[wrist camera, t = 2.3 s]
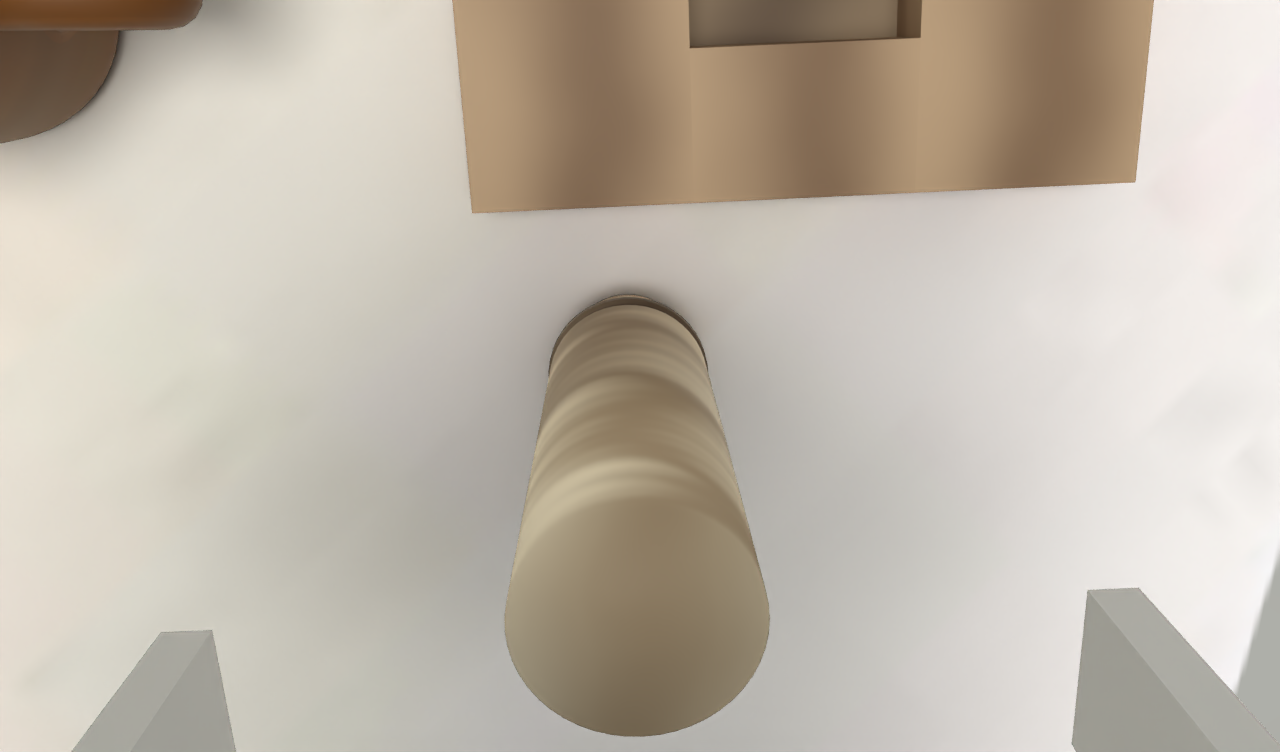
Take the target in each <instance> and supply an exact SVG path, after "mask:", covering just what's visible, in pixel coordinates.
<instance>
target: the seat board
mask: <svg viewBox="0 0 1280 752" xmlns="http://www.w3.org/2000/svg"><path fill="white" fill-rule="evenodd" d="M452 1H453V11H454V22H455V33H456V44H457V55H458V65H459V76H460V87H461V98H462V109H463V119H464V130H465V141H466V152H467V163H468V173H469V184H470V195H471V206H472V213H490V212H511V211H532V210H554V209H575V208H597V207H618V206H639V205H661V204H682V203H703V202H725V201H746V200H768V199H789V198H810V197H832V196H853V195H875V194H896V193H917V192H939V191H960V190H981V189H1003V188H1024V187H1046V186H1067V185H1088V184H1110V183H1131V182H1135V180H1136V171H1137V161H1138V151H1139V141H1140V131H1141V121H1142V111H1143V102H1144V92H1145V82H1146V72H1147V62H1148V52H1149V42H1150V33H1151V23H1152V13H1153V3H1154V0H452Z"/></svg>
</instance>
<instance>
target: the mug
mask: <svg viewBox="0 0 1280 752" xmlns="http://www.w3.org/2000/svg"><path fill="white" fill-rule="evenodd" d="M202 1H203V0H0V143H5V142H9V141H14V140H18V139H23V138H27V137H31V136H34V135H37V134H39V133H42V132H44V131H47V130H50V129H52V128H54V127H56V126H58V125H59V124H61V123H63V122H65V121H67V120H68V119H69V118H71V117H72V116H73V115H74V114H76V113H77V112H78V111H79V110H81V109H82V108H83V107H84V106H85V105H86V104H87V103H88V102H89V101H90V100H91V99H92V98H93V97H94V95H95V94H96V92H97V91H98V90H99V88H100V87H101V85H102V84H103V82H104V80H105V78H106V76H107V74H108V72H109V70H110V68H111V65H112V62H113V58H114V55H115V52H116V47H117V41H118V35H119V30H170V29H174V28H179V27H183V26H185V25H186V24H188V23H189V22H191V21H192V20H193V19H195V18H196V16H197V14H198V12H199V10H200V8H201V6H202Z"/></svg>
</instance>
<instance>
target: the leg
mask: <svg viewBox="0 0 1280 752" xmlns="http://www.w3.org/2000/svg"><path fill="white" fill-rule="evenodd" d="M769 621H770V615H769V603H768V599H767V594H766V590H765V586H764V582H763V579H762V575H761V571H760V567H759V563H758V560H757V556H756V552H755V548H754V545H753V541H752V537H751V533H750V529H749V526H748V522H747V518H746V514H745V511H744V507H743V503H742V499H741V495H740V492H739V488H738V484H737V480H736V477H735V473H734V469H733V465H732V461H731V458H730V454H729V450H728V446H727V443H726V439H725V435H724V431H723V427H722V424H721V420H720V416H719V412H718V409H717V405H716V401H715V397H714V393H713V390H712V386H711V382H710V378H709V375H708V366H707V361H706V357H705V353H704V349H703V347H702V344H701V342H700V340H699V338H698V336H697V334H696V333H695V331H694V330H693V329H692V327H691V326H690V325H689V324H688V322H687V321H686V320H685V319H684V318H683V317H681V316H680V315H679V314H678V313H676V312H675V311H674V310H672V309H670V308H668V307H667V306H665V305H663V304H660V303H658V302H655V301H653V300H651V299H649V298H646V297H642V296H637V295H618V296H613V297H609V298H607V299H604V300H602V301H600V302H598V303H596V304H594V305H592V306H590V307H588V308H587V309H585V310H583V311H582V312H581V313H579V314H578V315H576V316H575V317H574V318H573V319H572V320H571V321H570V322H569V323H568V324H567V326H566V327H565V328H564V329H563V331H562V332H561V334H560V336H559V337H558V339H557V341H556V343H555V346H554V348H553V352H552V355H551V359H550V365H549V379H548V384H547V390H546V395H545V400H544V405H543V411H542V416H541V421H540V427H539V432H538V437H537V442H536V448H535V453H534V458H533V464H532V469H531V474H530V479H529V485H528V490H527V495H526V501H525V506H524V511H523V516H522V522H521V527H520V532H519V538H518V543H517V548H516V553H515V559H514V564H513V569H512V575H511V580H510V585H509V590H508V596H507V601H506V609H505V635H506V641H507V647H508V650H509V653H510V656H511V659H512V662H513V664H514V666H515V668H516V670H517V672H518V674H519V675H520V677H521V678H522V680H523V681H524V683H525V684H526V686H527V687H528V688H529V689H530V690H531V692H532V693H533V694H534V695H535V696H536V697H537V698H538V699H539V700H540V701H541V702H542V703H544V704H545V705H546V706H547V707H548V708H549V709H551V710H552V711H554V712H555V713H557V714H558V715H560V716H561V717H563V718H565V719H567V720H569V721H571V722H573V723H575V724H577V725H579V726H582V727H585V728H587V729H590V730H593V731H597V732H601V733H606V734H610V735H619V736H652V735H661V734H665V733H670V732H674V731H678V730H681V729H684V728H687V727H690V726H692V725H694V724H696V723H699V722H701V721H703V720H705V719H707V718H708V717H710V716H712V715H713V714H715V713H716V712H718V711H720V710H721V709H722V708H723V707H725V706H726V705H727V704H728V703H730V702H731V701H732V700H733V699H734V698H735V697H736V696H737V695H738V694H739V693H740V692H741V691H742V690H743V689H744V687H745V686H746V684H747V683H748V682H749V680H750V679H751V678H752V676H753V675H754V673H755V671H756V669H757V667H758V665H759V664H760V661H761V659H762V656H763V653H764V651H765V648H766V643H767V639H768V634H769Z"/></svg>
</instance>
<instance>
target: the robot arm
mask: <svg viewBox="0 0 1280 752" xmlns="http://www.w3.org/2000/svg"><path fill="white" fill-rule="evenodd" d="M1072 745H1073V747H1074V749H1075V750H1076V752H1280V744H1279V743H1278V742H1277V741H1276V739H1275V738H1274V737H1273V736H1272V735H1271V734H1270V733H1269V732H1268V731H1267V730H1266V728H1265V727H1264V726H1263V725H1262V724H1261V723H1260V722H1259V721H1258V720H1257V719H1256V718H1255V716H1254V715H1253V714H1252V713H1251V712H1250V711H1249V710H1248V709H1247V707H1246V706H1245V705H1244V704H1243V703H1242V702H1241V701H1240V700H1239V698H1238V697H1237V696H1236V695H1235V694H1234V693H1233V692H1232V691H1231V690H1230V689H1229V687H1228V686H1227V685H1226V684H1225V683H1224V682H1223V681H1222V680H1221V679H1220V677H1219V676H1218V675H1217V674H1216V673H1215V672H1214V671H1213V670H1212V669H1211V667H1210V666H1209V665H1208V664H1207V663H1206V662H1205V661H1204V660H1203V659H1202V657H1201V656H1200V655H1199V654H1198V653H1197V652H1196V651H1195V650H1194V649H1193V648H1192V646H1191V645H1190V644H1189V643H1188V642H1187V641H1186V640H1185V639H1184V638H1183V636H1182V635H1181V634H1180V633H1179V632H1178V631H1177V630H1176V629H1175V628H1174V626H1173V625H1172V624H1171V623H1170V622H1169V621H1168V620H1167V619H1166V618H1165V616H1164V615H1163V614H1162V613H1161V612H1160V611H1159V610H1158V609H1157V608H1156V607H1155V605H1154V604H1153V603H1152V602H1151V601H1150V600H1149V599H1148V598H1147V597H1146V595H1145V594H1144V593H1143V592H1142V591H1141V590H1140V589H1139V588H1124V589H1102V590H1088V591H1087V601H1086V610H1085V620H1084V630H1083V640H1082V649H1081V659H1080V669H1079V678H1078V688H1077V698H1076V708H1075V717H1074V727H1073V737H1072ZM72 752H236V750H235V745H234V740H233V735H232V729H231V724H230V719H229V714H228V709H227V704H226V699H225V694H224V689H223V683H222V678H221V673H220V668H219V663H218V658H217V653H216V648H215V643H214V638H213V632H212V630H203V631H181V632H161V633H160V634H159V636H158V637H157V638H156V640H155V641H154V642H153V644H152V645H151V646H150V648H149V649H148V650H147V652H146V653H145V654H144V656H143V657H142V658H141V660H140V661H139V662H138V664H137V665H136V666H135V668H134V669H133V670H132V672H131V673H130V674H129V676H128V677H127V678H126V680H125V681H124V682H123V684H122V685H121V686H120V688H119V689H118V690H117V692H116V693H115V694H114V696H113V697H112V698H111V700H110V701H109V702H108V704H107V705H106V706H105V708H104V709H103V710H102V712H101V713H100V714H99V716H98V717H97V718H96V720H95V721H94V722H93V724H92V725H91V726H90V728H89V729H88V730H87V732H86V733H85V734H84V736H83V737H82V738H81V740H80V741H79V742H78V744H77V745H76V746H75V748H74V749H73V750H72Z"/></svg>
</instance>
